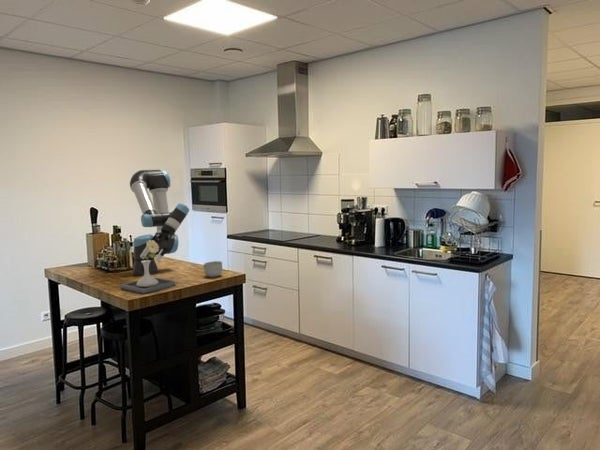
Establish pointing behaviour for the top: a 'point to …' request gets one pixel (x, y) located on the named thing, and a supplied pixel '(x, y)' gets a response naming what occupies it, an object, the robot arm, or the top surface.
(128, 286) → the charcoal tray
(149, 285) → the flower in vase
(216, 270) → the teacup
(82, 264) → the top surface
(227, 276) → the top surface
